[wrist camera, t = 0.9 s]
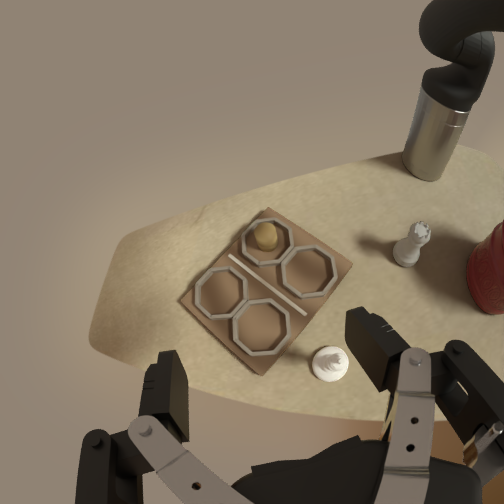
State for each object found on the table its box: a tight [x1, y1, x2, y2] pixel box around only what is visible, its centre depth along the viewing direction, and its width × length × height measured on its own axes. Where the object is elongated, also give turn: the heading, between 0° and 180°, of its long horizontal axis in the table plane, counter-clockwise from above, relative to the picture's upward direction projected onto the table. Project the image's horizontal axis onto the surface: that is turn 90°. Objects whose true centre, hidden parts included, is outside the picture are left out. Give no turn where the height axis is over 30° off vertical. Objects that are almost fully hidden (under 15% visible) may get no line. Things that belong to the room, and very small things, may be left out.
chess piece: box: [312, 346, 348, 382], centre depth 28 cm, size 5×5×10 cm
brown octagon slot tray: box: [181, 207, 353, 376], centre depth 37 cm, size 20×16×5 cm
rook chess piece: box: [393, 221, 431, 267], centre depth 34 cm, size 4×4×8 cm
